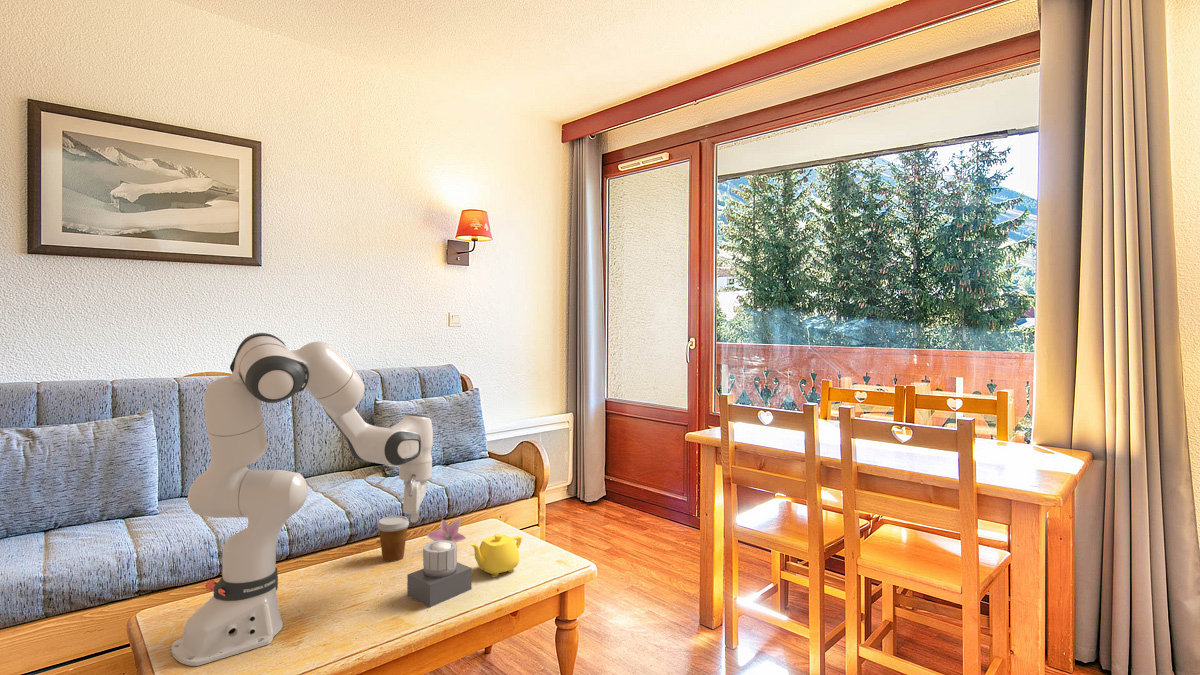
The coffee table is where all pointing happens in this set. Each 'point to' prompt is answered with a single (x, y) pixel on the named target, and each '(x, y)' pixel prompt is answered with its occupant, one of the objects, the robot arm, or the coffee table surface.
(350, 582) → the coffee table surface
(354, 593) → the coffee table surface
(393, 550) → the disposable coffee cup
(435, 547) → the white egg
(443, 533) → the lily
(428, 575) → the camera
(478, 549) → the teapot
